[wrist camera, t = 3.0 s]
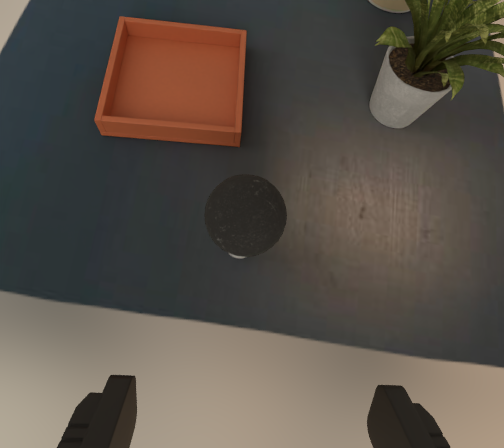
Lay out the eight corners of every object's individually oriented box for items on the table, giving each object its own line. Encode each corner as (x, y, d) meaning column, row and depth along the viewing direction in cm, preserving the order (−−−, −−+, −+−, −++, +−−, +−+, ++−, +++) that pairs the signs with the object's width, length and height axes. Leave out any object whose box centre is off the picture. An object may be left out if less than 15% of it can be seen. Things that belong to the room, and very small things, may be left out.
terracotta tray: (101, 135, 34) (93, 119, 32) (124, 35, 39) (119, 15, 37) (239, 147, 35) (241, 132, 33) (244, 48, 40) (246, 30, 38)
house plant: (353, 186, 35) (460, 46, 20) (300, 78, 39) (354, -103, 24) (472, 153, 38) (644, 9, 23) (410, 56, 42) (519, -117, 27)
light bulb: (214, 212, 32) (215, 149, 23) (275, 225, 32) (300, 168, 23) (199, 271, 30) (193, 228, 21) (264, 286, 30) (287, 249, 21)
